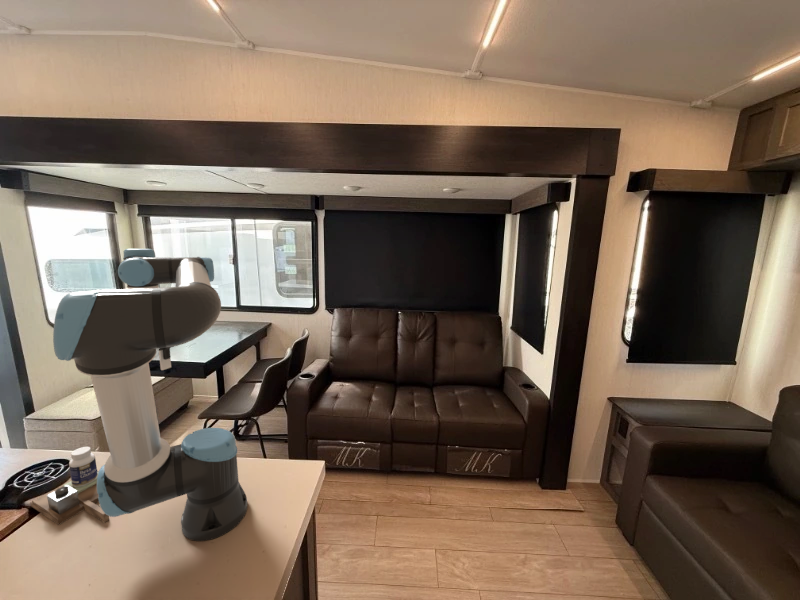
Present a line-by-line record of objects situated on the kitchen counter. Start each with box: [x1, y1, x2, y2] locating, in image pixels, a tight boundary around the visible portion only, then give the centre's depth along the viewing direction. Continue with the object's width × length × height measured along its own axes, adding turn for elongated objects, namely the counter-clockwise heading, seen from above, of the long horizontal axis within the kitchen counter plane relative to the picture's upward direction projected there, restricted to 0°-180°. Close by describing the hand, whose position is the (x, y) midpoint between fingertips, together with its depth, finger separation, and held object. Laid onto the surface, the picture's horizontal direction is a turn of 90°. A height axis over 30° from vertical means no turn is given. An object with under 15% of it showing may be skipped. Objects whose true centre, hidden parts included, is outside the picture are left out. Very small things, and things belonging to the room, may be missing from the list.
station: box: [29, 470, 110, 525], centre depth 89 cm, size 24×14×2 cm, turn 68°
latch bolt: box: [47, 485, 79, 515], centre depth 86 cm, size 5×4×5 cm
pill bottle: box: [68, 446, 98, 487], centre depth 93 cm, size 5×5×10 cm
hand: (152, 364), depth 103 cm, fingers open, 13 cm apart
